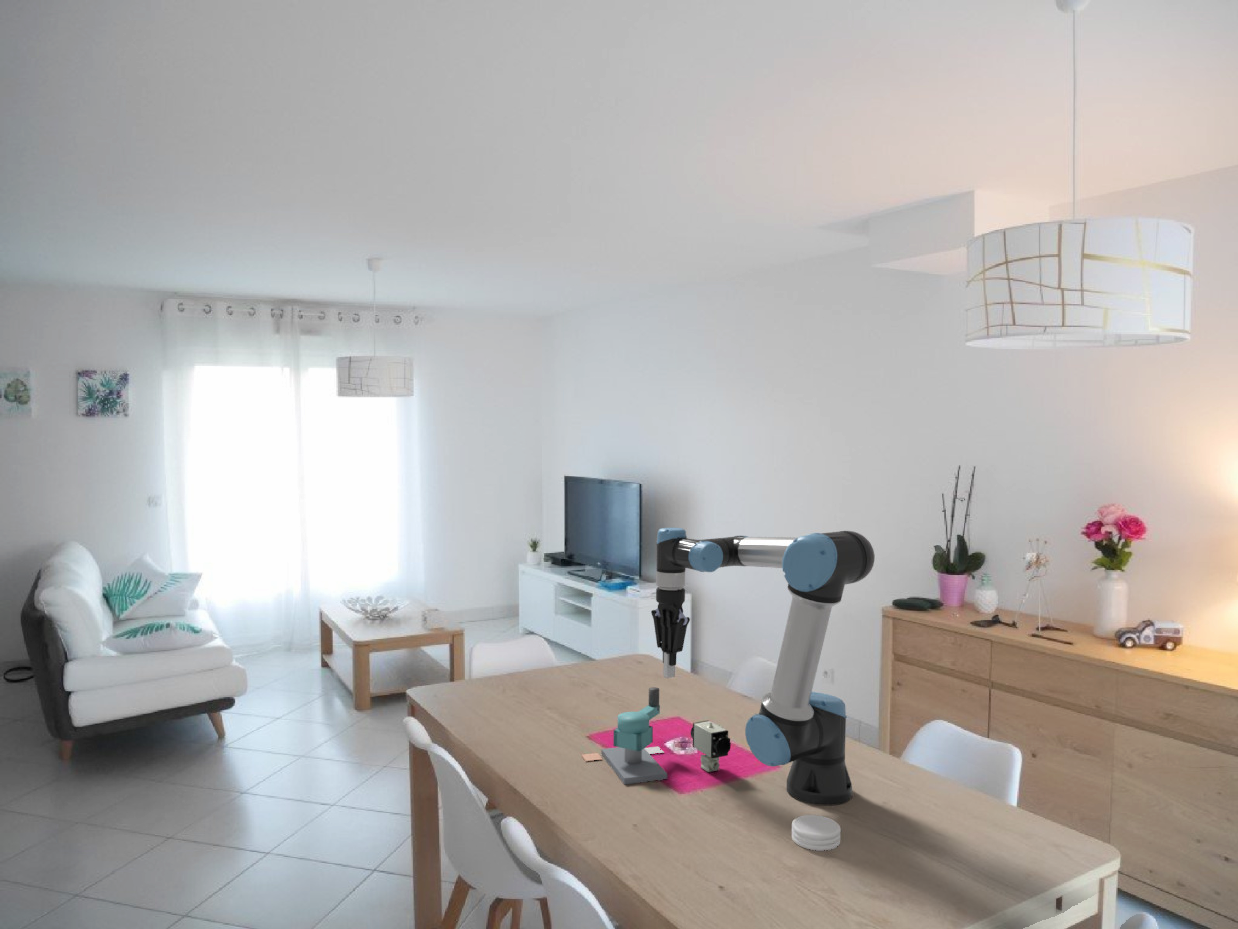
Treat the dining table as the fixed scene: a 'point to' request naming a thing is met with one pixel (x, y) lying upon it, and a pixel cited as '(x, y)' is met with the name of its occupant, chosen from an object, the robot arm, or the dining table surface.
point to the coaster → (816, 832)
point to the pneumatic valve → (710, 743)
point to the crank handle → (637, 725)
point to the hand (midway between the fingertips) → (669, 676)
